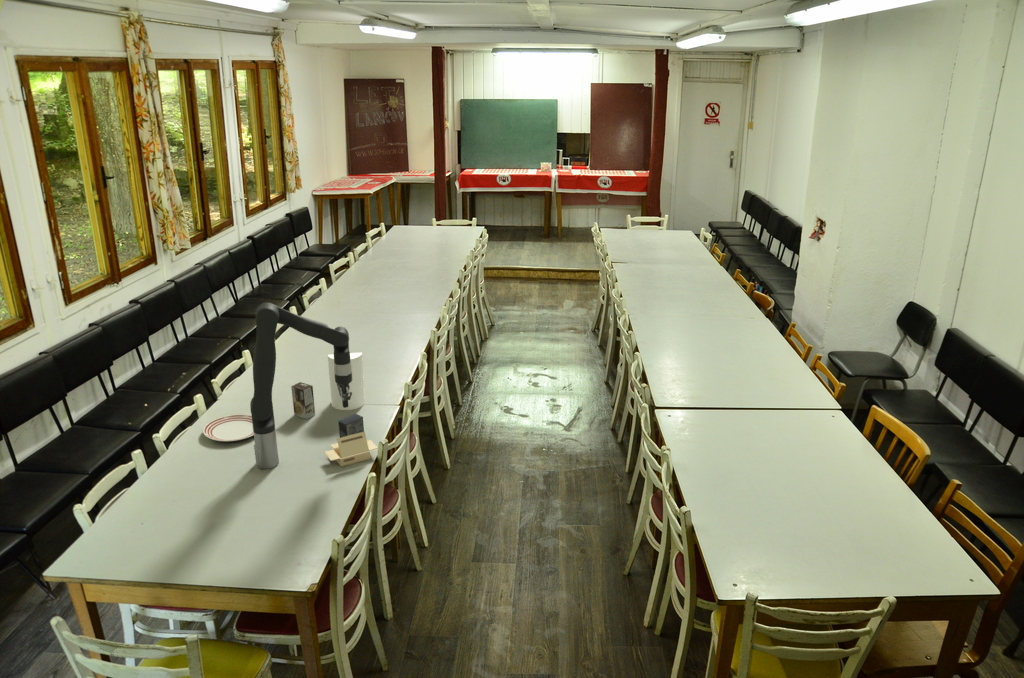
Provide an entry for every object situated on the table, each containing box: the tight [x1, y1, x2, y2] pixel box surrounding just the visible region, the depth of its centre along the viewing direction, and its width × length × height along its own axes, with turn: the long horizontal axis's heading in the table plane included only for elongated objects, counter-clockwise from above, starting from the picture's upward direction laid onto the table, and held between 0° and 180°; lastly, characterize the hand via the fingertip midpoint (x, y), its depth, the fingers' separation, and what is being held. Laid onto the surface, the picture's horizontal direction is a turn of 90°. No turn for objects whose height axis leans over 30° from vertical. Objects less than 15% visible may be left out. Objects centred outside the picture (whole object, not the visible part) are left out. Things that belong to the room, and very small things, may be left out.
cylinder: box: [327, 352, 366, 411], centre depth 394 cm, size 17×17×28 cm
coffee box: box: [290, 381, 316, 420], centre depth 383 cm, size 9×6×16 cm
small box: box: [337, 413, 365, 438], centre depth 363 cm, size 11×6×10 cm, turn 141°
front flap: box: [336, 431, 369, 458], centre depth 341 cm, size 13×1×9 cm, turn 122°
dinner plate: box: [202, 413, 254, 443], centre depth 367 cm, size 28×27×3 cm
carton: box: [323, 439, 379, 468], centre depth 348 cm, size 22×14×4 cm, turn 122°
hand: (345, 406), depth 341 cm, fingers closed
